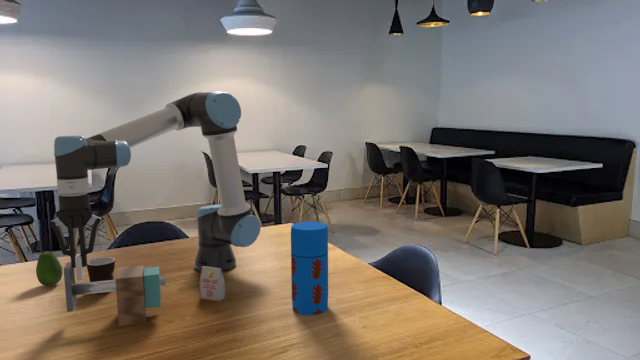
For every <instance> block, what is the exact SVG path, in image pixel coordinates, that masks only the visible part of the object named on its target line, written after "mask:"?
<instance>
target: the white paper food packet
mask: <svg viewBox="0 0 640 360" xmlns="http://www.w3.org/2000/svg"><path fill="white" fill-rule="evenodd" d="M198 282H199V285H198V286H199V299H200V300H207V301H214V302H220V301H222V300H224V299H225V298H226V287H225V284H226V283H225V277H224V274H223V271H221V268H214V267H205V266H202V267H201V271H200V275H199V280H198Z"/></svg>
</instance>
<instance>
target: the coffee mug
mask: <svg viewBox="0 0 640 360" xmlns="http://www.w3.org/2000/svg"><path fill="white" fill-rule="evenodd" d="M115 262H116V259H115V258H114V257H111V256H103V257H96V258H92V259H89V260H87V266H86V269H87V272H88V273H87V274H88V279H89V282H97V281H107V280H115V266H116V263H115ZM109 293H110V292H104V293H94V295H105V294H109Z"/></svg>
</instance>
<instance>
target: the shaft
mask: <svg viewBox="0 0 640 360" xmlns="http://www.w3.org/2000/svg"><path fill="white" fill-rule="evenodd" d="M165 276H166V275H165V274H159V283H160V287H165V286H166V277H165ZM63 277H64V278H63V279H64V288H65V289H64V291H65V301H66V312H67V313H69V312H70V313H71V312H74V310H75V308H76V306H77V303H78V301H77V296H83V295H92V294H94V293H104V292H109V293H111V292H116V279H114V280H107V281H97V282H90V281H88V282H87V281H86V282H80V283H79V282H78V283H76V278H75V277H76V273H75V268H72V266H71V261H69V262H66V264H65V266H64V268H63ZM94 295H95V294H94Z"/></svg>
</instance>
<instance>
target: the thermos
mask: <svg viewBox="0 0 640 360" xmlns="http://www.w3.org/2000/svg"><path fill="white" fill-rule="evenodd" d="M328 228H329V227H328V224H326V223H324V222H320V221H302V222H301V221H300V222H296V223H293V224H292V225H291V228H290V259H291V260H290V263H291V264H290V265H291V266H290V269H291V270H290V271H291V272H290V274H291V276H290V279H291V302H292V303H291V304H292V310H293V311H294V312H295V313H296V314H298V315H299V314H300V315H303V314H304V316H305V315H306V316H313V315H315V314H316V315H318V314H323V313H325V312H326V311H327V310H328V306H329V303H328V302H329V229H328ZM316 315H315V316H316Z"/></svg>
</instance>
